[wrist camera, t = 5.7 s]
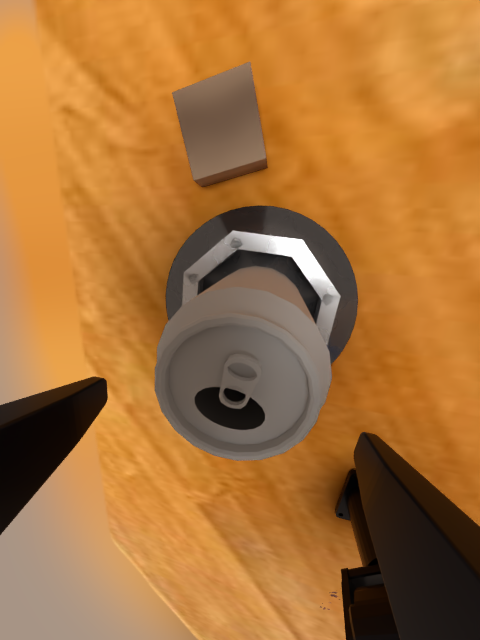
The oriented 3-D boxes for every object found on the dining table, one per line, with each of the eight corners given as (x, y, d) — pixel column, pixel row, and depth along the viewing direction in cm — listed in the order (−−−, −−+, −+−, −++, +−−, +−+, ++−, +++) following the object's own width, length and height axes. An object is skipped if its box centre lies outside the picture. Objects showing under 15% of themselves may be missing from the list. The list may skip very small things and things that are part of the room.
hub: (328, 404, 22) (332, 418, 20) (165, 372, 24) (156, 382, 22) (383, 220, 17) (395, 217, 15) (170, 195, 18) (159, 189, 17)
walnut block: (267, 167, 17) (266, 158, 15) (202, 187, 18) (193, 180, 16) (253, 83, 16) (250, 61, 14) (183, 109, 17) (172, 92, 15)
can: (204, 336, 21) (123, 442, 10) (225, 253, 19) (150, 265, 7) (284, 362, 21) (297, 503, 9) (317, 281, 18) (386, 339, 7)
